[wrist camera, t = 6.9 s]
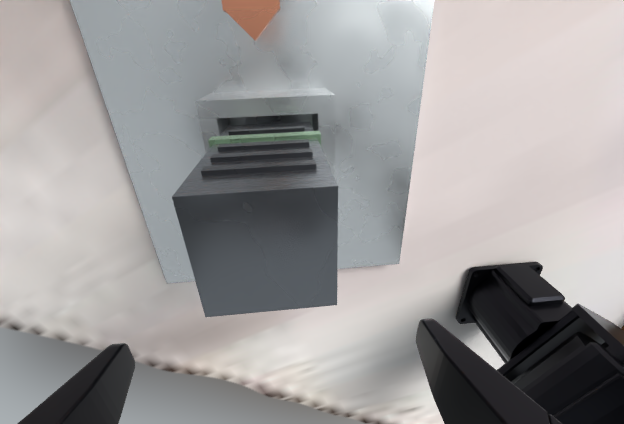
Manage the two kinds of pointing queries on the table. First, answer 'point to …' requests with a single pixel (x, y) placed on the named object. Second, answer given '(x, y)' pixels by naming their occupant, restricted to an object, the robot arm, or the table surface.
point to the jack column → (261, 220)
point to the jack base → (265, 99)
